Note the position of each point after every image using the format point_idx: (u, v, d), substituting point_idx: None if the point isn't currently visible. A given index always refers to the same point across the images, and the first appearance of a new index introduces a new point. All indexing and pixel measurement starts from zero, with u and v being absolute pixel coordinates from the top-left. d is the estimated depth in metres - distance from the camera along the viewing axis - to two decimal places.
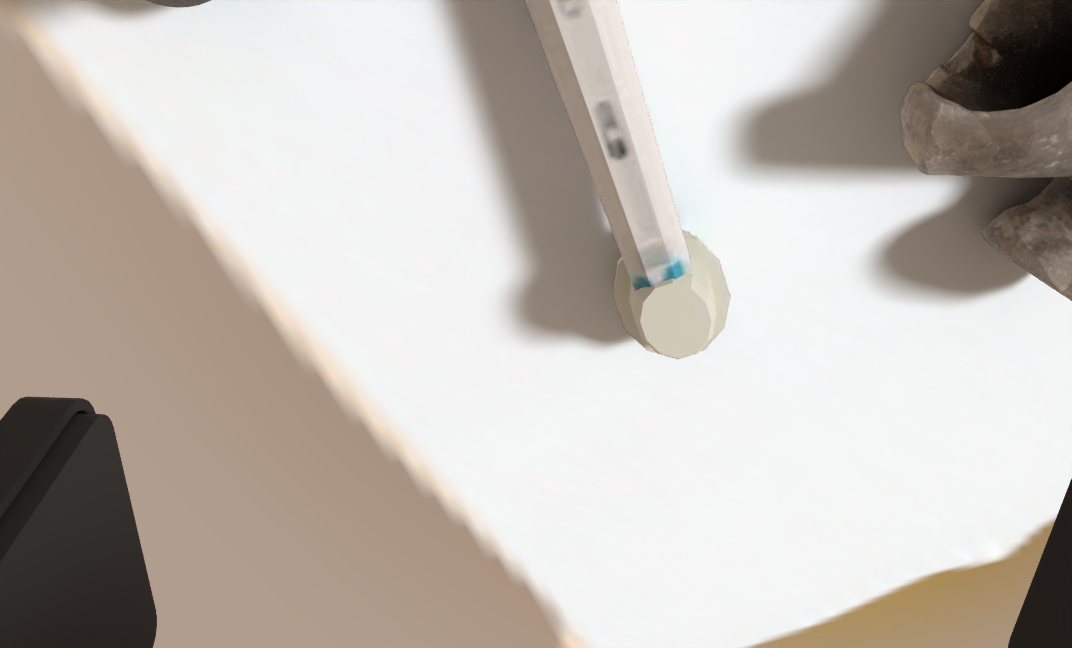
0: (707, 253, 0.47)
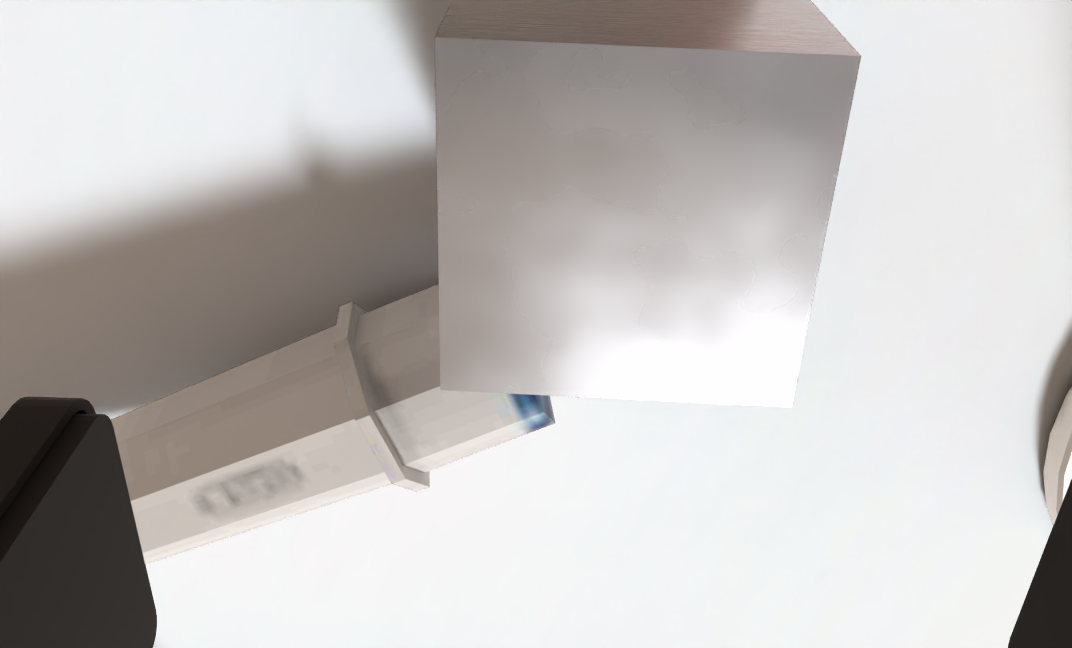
0: None
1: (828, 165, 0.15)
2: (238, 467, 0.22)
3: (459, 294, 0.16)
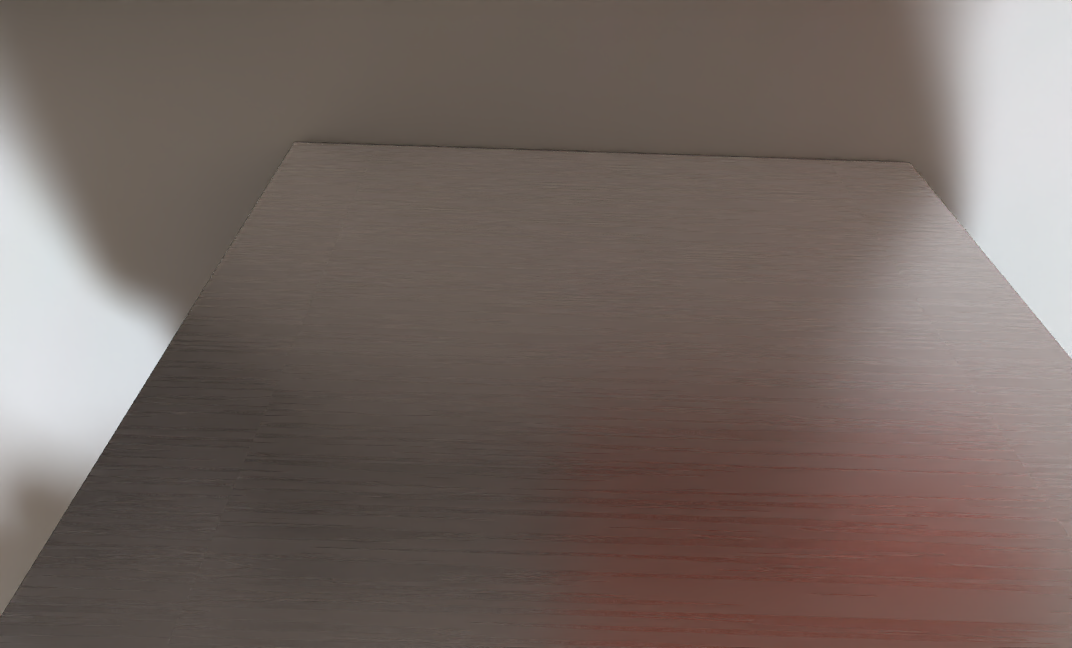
0: None
1: None
2: None
3: None
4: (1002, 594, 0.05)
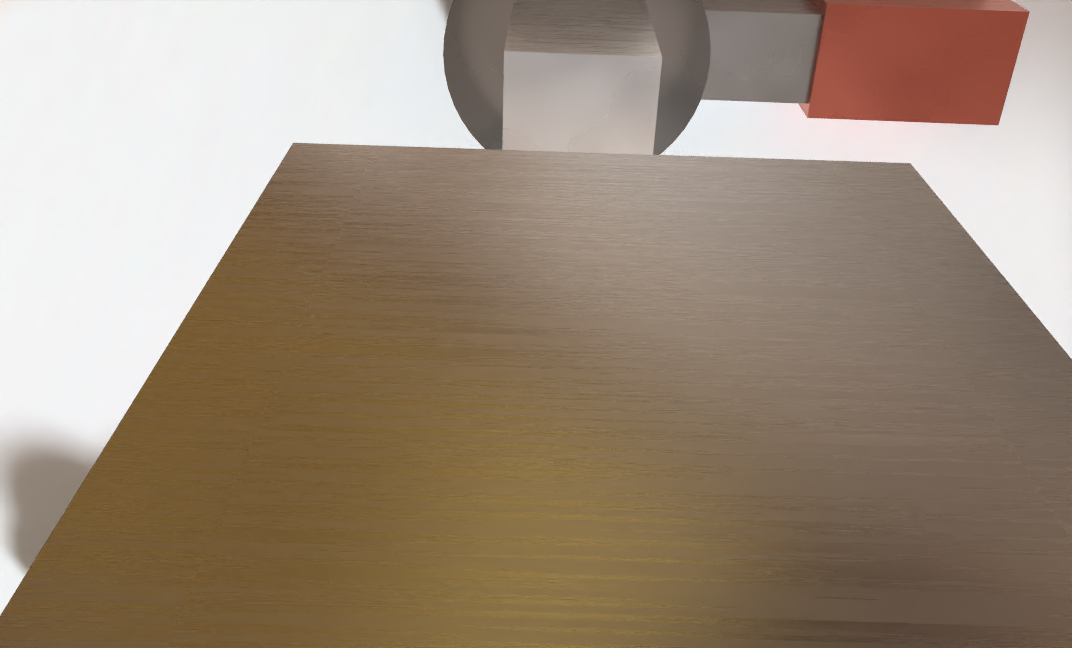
0: None
1: None
2: None
3: None
4: (1004, 597, 0.05)
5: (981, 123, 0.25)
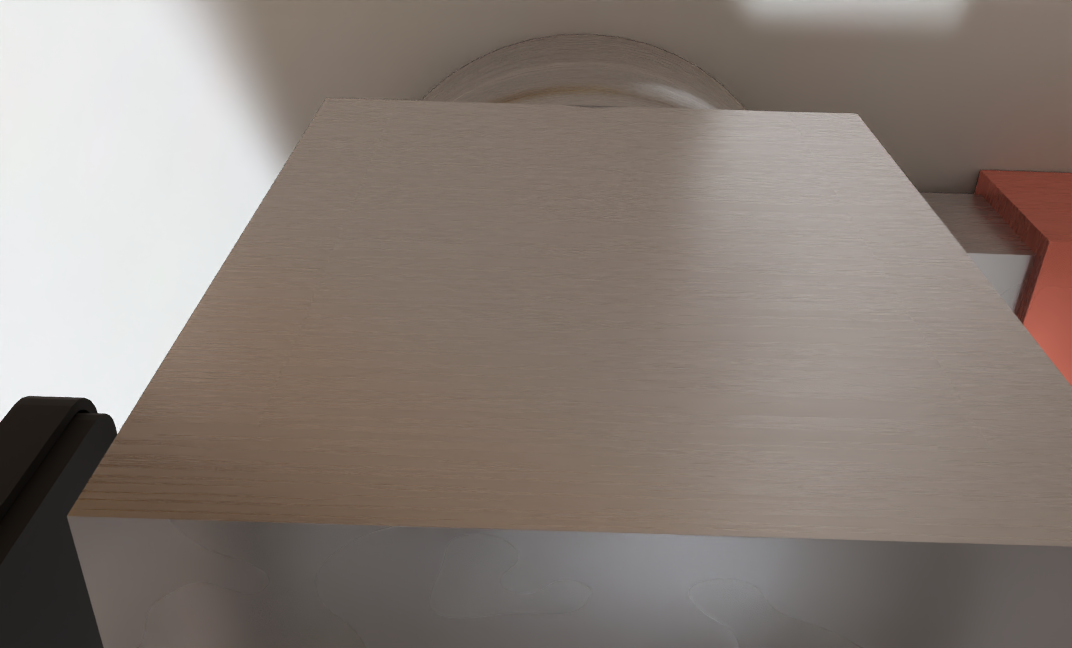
0: None
1: None
2: None
3: None
4: (884, 403, 0.06)
5: None
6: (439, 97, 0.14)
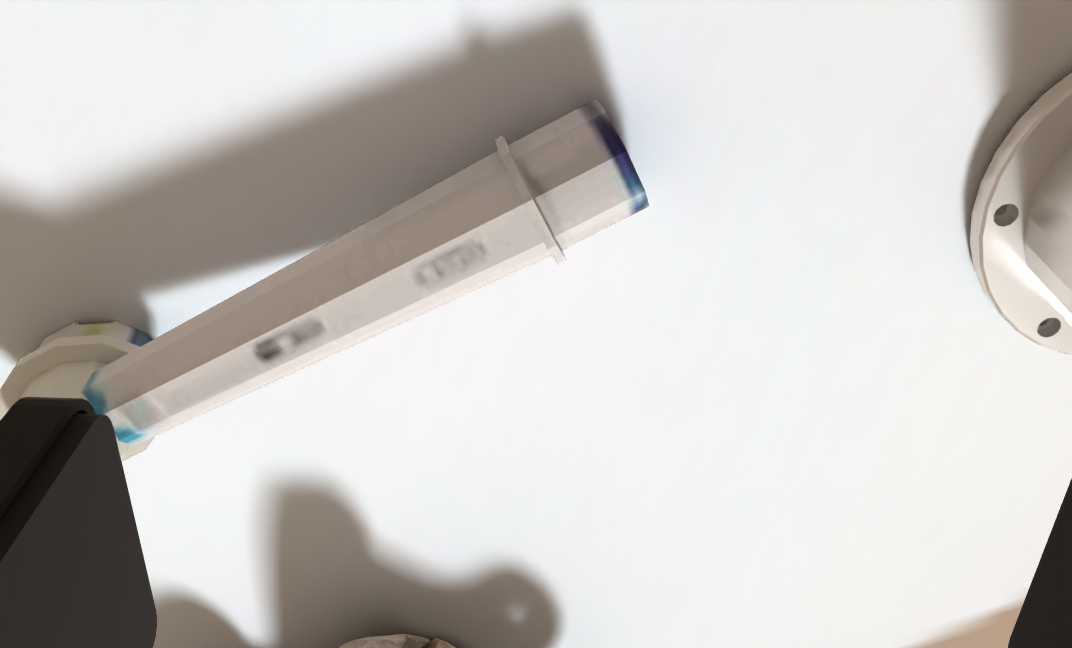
0: None
1: None
2: (443, 248, 0.32)
3: None
4: None
5: None
6: None
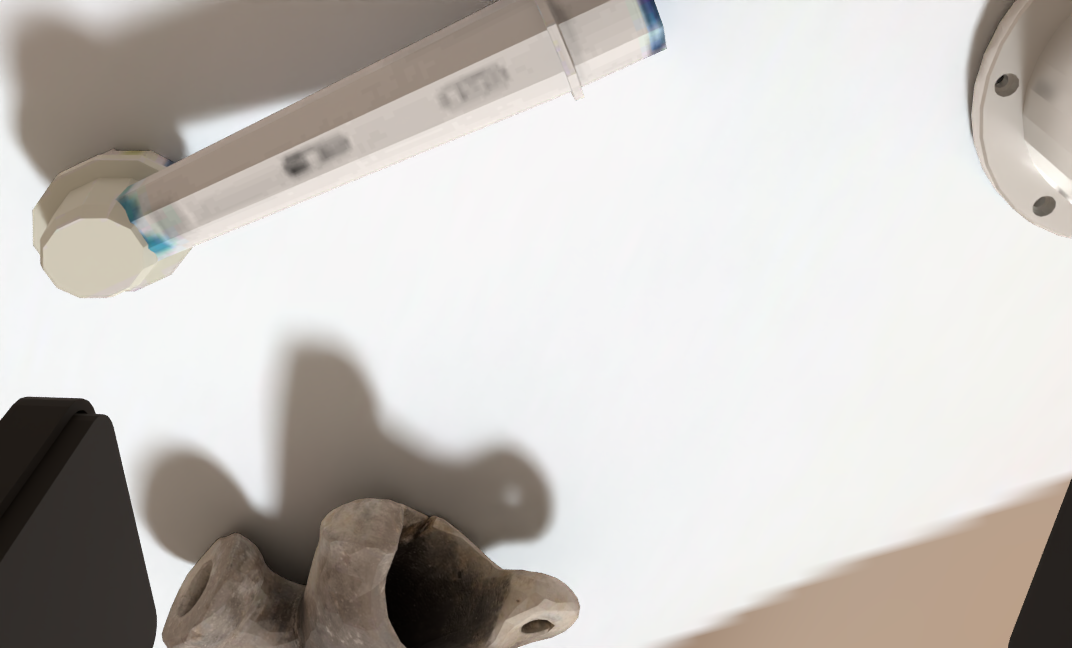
0: (181, 258, 0.40)
1: None
2: (468, 70, 0.34)
3: None
4: None
5: None
6: None
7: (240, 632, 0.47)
